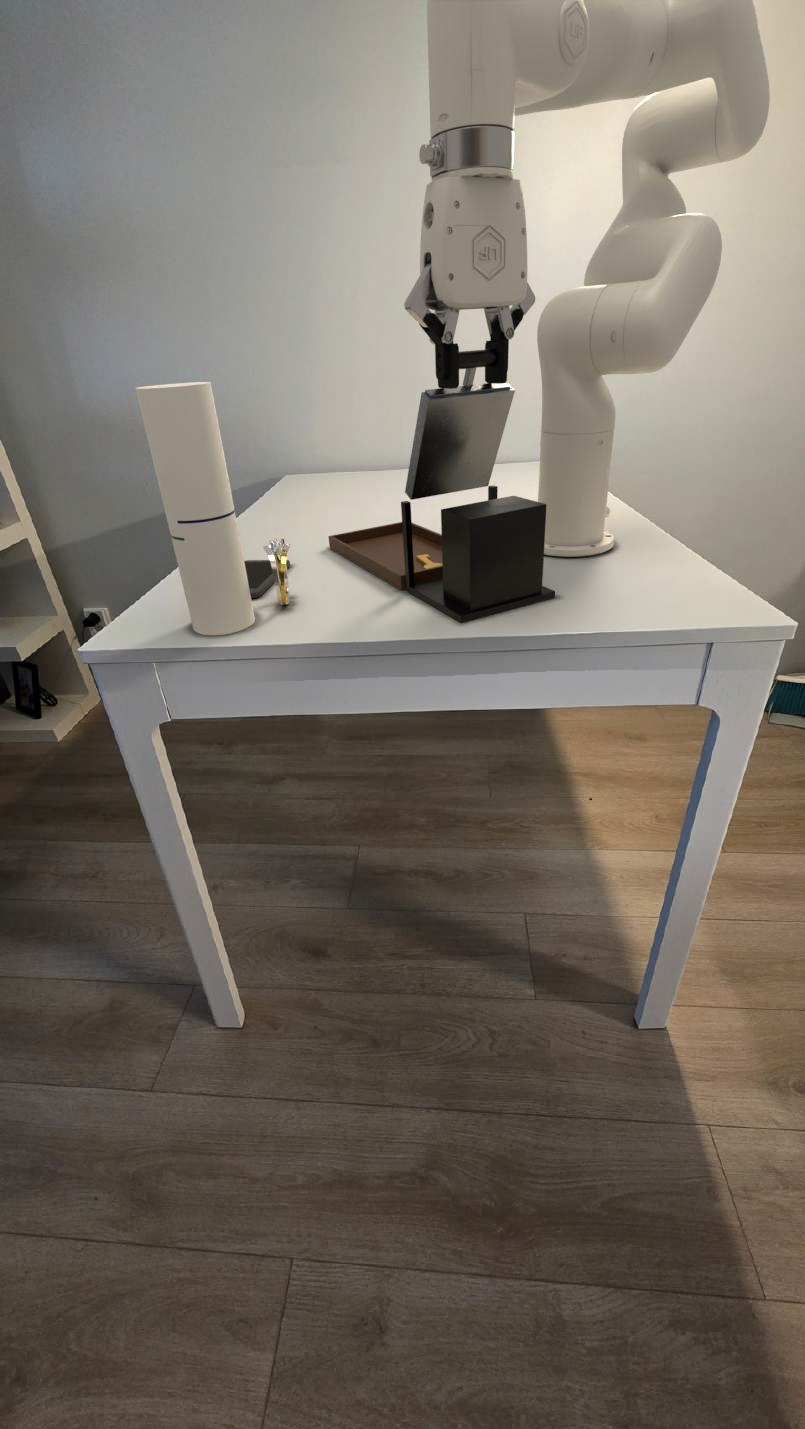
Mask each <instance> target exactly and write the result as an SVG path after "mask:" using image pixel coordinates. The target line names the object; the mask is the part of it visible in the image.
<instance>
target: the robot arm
mask: <svg viewBox="0 0 805 1429" xmlns="http://www.w3.org/2000/svg"><path fill="white" fill-rule="evenodd" d="M757 14H758V13H757V10H756V6H755V2H754V0H426V16H427V20H426V21H427V22H426V23H427V55H428V57H427V58H428V60H427V61H428V94H429V126H430V129H429V130H430V139H429V140H428V142H429V143H428V144H421V146H420V149H419V153H418V154H419V156H418V157H419V161H420V163H421V165H427V166H428V167H429V177H430V178H431V182H429V183H428V184H426V187H425V193H424V200H423V207H422V215H421V228H420V250H419V252H420V253H419V254H420V255H419V277H418V278H417V280H416V282H415V283H414V285H413V287H412V289H411V291H410V292H409V294H408V296H407V298H406V300H405V301H404V304H403V306H404V309H405V311H406V312H407V313H408V314H409V315H410V317H412V318H413V320H415V321H416V322H417V323H418V325H419V327H420V328H421V329H422V330H423V331H424V333H425V334H426V335H427V336H428V337H429V342H430V343H431V345H434V358H435V360H434V361H435V364H434V365H435V379H437V386H438V389H440V388H449V389H454V388H457V387H458V386H460V369H459V352H460V347H459V344H458V342H457V343H456V342H455V343H454V340H455V335H456V330H457V325H458V320H459V316H460V311H462V310H463V311H464V310H478V309H481V310H483V311H484V315H485V320H486V325H487V329H488V334H489V338H490V339H489V340H485V344H484V350H486V349H495V350H496V351H497V353H498V361H497V364H496V365H495V366H490V367H484V381H485V383H486V384H487V383H497V384H502V383H508V382H507V381H508V371H509V352H510V351H509V349H510V348H509V345H510V342H509V341H511V340H512V339H513V338H514V336H515V331H516V329H517V328H518V327H519V325H520V324H521V322H522V321H523V319H524V316H526V314H527V313H528V312H529V311H530V309H531V308H532V307H533V305H534V304H535V303H536V296H535V294H534V292H533V290H532V288H531V286H530V284H529V282H528V237H527V236H528V235H527V234H528V233H527V220H526V209H525V201H524V193H523V187H522V182H521V179H516V178H514V156H515V155H514V153H515V117H518V116H522V115H523V116H524V115H531V114H535V113H542V112H552V111H561V110H568V109H575V108H580V107H584V106H588V105H589V106H590V105H594V104H600V103H606V102H612V101H617V100H618V101H619V100H628V99H638V98H642V97H646V98H644V99H643V100H642V101H641V102H640V103H639V104H638V105H637V106H636V107H635V108H634V110H633V112H632V113H630V116H629V118H628V120H627V123H626V124H625V129H624V132H623V137H622V145H621V177H622V178H621V180H622V181H621V182H622V183H621V184H622V185H621V186H622V205H621V208H619V211H618V213H617V214H616V216H615V218H614V219H613V221H612V222H611V224H610V225H609V227H608V229H607V231H606V232H605V234H604V235H603V237H602V238H601V240H600V242H599V244H597V246H596V248H595V250H594V252H593V253H592V255H591V257H590V260H589V261H588V264H587V267H586V269H585V273H584V279H583V286H579V287H573V288H569V289H566V290H564V291H561V292H560V293H557V295H555V296H554V297H552V298H551V299H550V300H549V301H548V302H547V304H546V305H545V306H544V308H543V310H542V311H541V314H540V316H539V319H538V324H537V331H536V332H537V333H536V336H537V337H536V342H537V351H538V358H539V360H538V361H539V367H540V368H539V369H540V376H541V377H540V378H541V424H540V425H541V426H540V428H541V429H540V442H539V443H540V444H539V445H540V447H539V467H538V486H537V488H538V489H537V502H540V503H544V504H546V524H545V543H544V556H545V555H546V556H554V557H564V558H565V557H566V558H569V557H570V558H571V557H572V558H574V557H575V558H576V557H586V556H594V555H599V554H602V553H606V552H607V551H609V550H611V549H612V548H614V545H615V536H614V534H612V533H611V532H610V531H607V530H605V525H606V524H605V523H606V518H608V517H609V516H610V513H611V509H610V507H609V506H608V494H609V483H610V474H611V464H612V454H613V445H614V434H615V428H616V427H615V425H616V407H615V406H616V405H615V402H614V399H613V396H612V393H611V391H610V389H609V387H608V385H607V383H606V382H605V379H604V377H603V376H606V375H640V374H641V375H642V374H652V373H655V372H658V371H660V370H662V369H664V368H665V367H666V366H667V365H669V363H670V362H671V361H672V360H673V359H674V357H675V356H676V355H677V353H678V351H679V350H680V348H681V346H682V345H683V343H684V341H685V339H686V337H687V336H688V334H689V332H690V330H691V329H692V327H693V325H694V324H695V322H696V320H697V318H698V317H699V315H700V313H701V311H702V309H703V308H704V306H705V304H706V302H707V300H708V298H709V296H710V294H711V293H712V290H713V288H714V286H715V283H716V281H717V277H718V274H719V270H720V265H721V262H722V261H721V260H722V250H723V249H722V248H723V240H722V239H723V238H722V233H721V230H720V227H719V225H718V223H717V221H715V219H713V218H712V217H711V216H710V215H707V214H705V213H700V212H690V213H687V207H686V204H685V201H684V199H683V198H684V197H683V196H682V194H681V193H680V191H679V189H678V188H677V186H676V185H675V183H674V182H673V181H672V180H671V179H670V178H669V175H670V174H674V173H678V172H683V171H688V170H692V169H696V168H701V167H706V166H712V165H717V164H721V163H728V162H731V161H734V160H737V159H739V158H742V157H743V156H745V155H746V154H748V153H749V152H751V151H752V149H753V148H755V146H757V144H758V142H759V141H760V139H761V137H762V135H763V133H764V130H765V128H766V125H767V122H768V117H769V110H770V100H771V99H770V98H771V97H770V96H771V95H770V81H769V74H768V68H767V62H766V57H765V50H764V46H763V40H762V36H761V30H760V25H759V19H758V15H757ZM510 306H511V307H510ZM431 310H432V311H434V312H432V311H431Z"/></svg>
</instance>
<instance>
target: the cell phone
mask: <svg viewBox="0 0 805 1429" xmlns="http://www.w3.org/2000/svg"><path fill="white" fill-rule="evenodd" d="M279 560H280V563H281V559H279ZM244 563H245V568H246V573H247V579H248V584H249V590H250V595H251V598H260V597H261V596H262V595H263V594H265V592H266V591H268V589H269V588H270V587H271V586H272V585H273V584H275V583H274V577H273V572H272V567H271V563H270V559H248V560H247V559H246V560H244ZM286 565H287V569H288V568H290V566H291V561H290V560H289V559H286ZM278 573H279V572H278ZM279 578H280V576H279Z"/></svg>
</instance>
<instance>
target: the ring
mask: <svg viewBox="0 0 805 1429" xmlns="http://www.w3.org/2000/svg"><path fill="white" fill-rule="evenodd" d="M268 542H269V544H266V545H263V546H262V548H263V549H264V551H265V553H266V554H267V556H268V560H270V563H271V567H272V572H273V577H274V583H273V584H274V588H275V593H276V596H277V600H278V603H279V605H281V606H289V605H290V585H289V584H290V583H289V575H288V574H289V572H288V568H287V565H286V560H287V556H288V551H289V549H290V543H285V538H280V541H279V542H278V538H274V539H273V540H272V539H271V540H269V541H268ZM279 557H280V558H279ZM280 560H281V563H280ZM278 572H279V573H278ZM279 576H280V577H279Z"/></svg>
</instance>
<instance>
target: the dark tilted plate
mask: <svg viewBox="0 0 805 1429" xmlns="http://www.w3.org/2000/svg"><path fill="white" fill-rule="evenodd" d="M497 361H498V353H497V351H496V350H495V349H486V350H485V349H475V350H474V349H473V350H464V351H463V350H462V351H459V370H465V371H464V375H463V380H462V385H459V386H458V387H457V388H454V389H449V388H431V389H425V390H424V391H422V392H421V395H420V399H419V405H418V410H417V418H416V423H415V430H414V436H413V441H412V447H411V452H410V459H409V464H408V465H409V466H408V471H407V478H406V483H405V489H404V493H405V494H406V495H407V497H408V498H409V500H411V501H413V500H418V499H423V498H430V497H435V496H440V495H446V494H451V493H457V492H463V491H468V490H474V489H479V488H480V489H481V488H485V487H488V486H490V485H489V484H490V481H491V478H492V474H493V470H494V466H495V463H496V460H497V456H498V452H499V449H500V446H501V441H502V438H503V435H504V431H505V427H506V424H507V421H508V417H509V414H510V410H511V406H512V403H513V399H514V396H515V392H516V389H515V388H514V387H512V386H511V384H510V383H508V382H506V383H502V384H497V383H487V382H486V383H477V384H474V380H475V375H476V371H477V369H479V368H485V367H490V366H495V365H496V364H497Z"/></svg>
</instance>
